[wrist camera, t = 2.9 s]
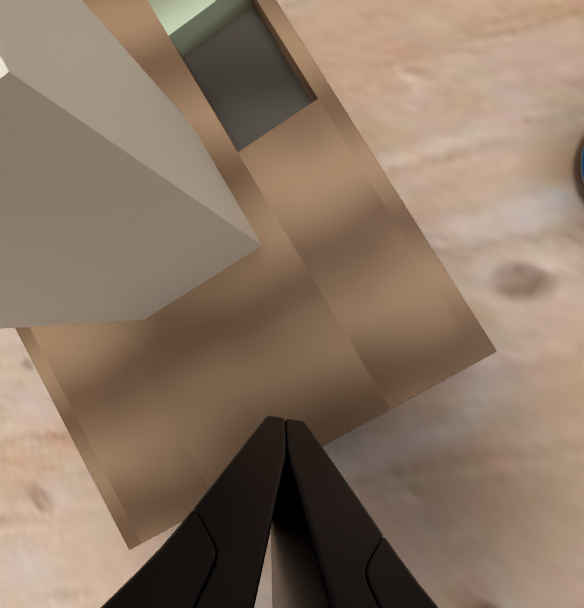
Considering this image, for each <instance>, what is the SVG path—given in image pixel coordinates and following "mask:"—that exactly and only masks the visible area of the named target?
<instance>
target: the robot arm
mask: <svg viewBox="0 0 584 608" xmlns="http://www.w3.org/2000/svg"><path fill="white" fill-rule="evenodd" d="M270 530H271V554H272V602H273V608H438V607H437V606H436V604H435V603H434V602H433V601H432V599H431V598H430V597H429V596H428V594H427V593H426V592H425V591H424V589H423V588H422V587H421V586H420V584H419V583H418V582H417V581H416V579H415V578H414V577H413V575H412V574H411V573H410V571H409V570H408V568H407V567H406V566H405V564H404V563H403V562H402V560H401V559H400V558H399V556H398V555H397V553H396V552H395V551H394V549H393V548H392V546H391V545H390V543H389V542H388V541H387V539H386V538H383V534H382V532H381V531H380V529H379V528H378V527H377V525H376V524H375V522H374V521H373V519H372V518H371V516H370V515H369V514H368V512H367V511H366V509H365V508H364V506H363V505H362V504H361V502H360V501H359V499H358V498H357V496H356V495H355V494H354V492H353V491H352V489H351V488H350V486H349V485H348V484H347V482H346V481H345V479H344V478H343V476H342V475H341V473H340V472H339V471H338V469H337V468H336V466H335V465H334V463H333V462H332V461H331V459H330V458H329V456H328V455H327V453H326V452H325V451H324V449H323V448H322V446H321V445H320V443H319V442H318V441H317V439H316V438H315V436H314V435H313V433H312V432H311V431H310V429H309V428H308V426H307V425H306V423H305V422H304V421H301V420H294V419H286V421H285V419H284V418H282V417H275V416H267V417H265V419H264V420H263V421H262V422H261V424H260V425H259V426H258V428H257V429H256V430H255V431H254V433H253V434H252V435H251V436H250V438H249V439H248V440H247V441H246V443H245V444H244V445H243V446H242V448H241V449H240V450H239V452H238V453H237V454H236V455H235V457H234V458H233V459H232V460H231V462H230V463H229V464H228V465H227V467H226V468H225V469H224V470H223V472H222V473H221V474H220V475H219V477H218V478H217V479H216V481H215V482H214V483H213V484H212V486H211V487H210V488H209V489H208V491H207V492H206V493H205V494H204V496H203V497H202V498H201V499H200V501H199V502H198V503H197V505H196V506H195V507H194V509H193V511H191V512H190V513H189V514H188V516H187V517H186V518H185V519H184V521H183V522H182V523H181V524H180V526H179V527H178V528H177V529H176V530H175V532H174V533H173V534H172V535H171V536H170V537H169V539H168V540H167V541H166V542H165V543H164V544H163V546H162V547H161V548H160V549H159V550H158V551H157V552H156V553H155V554H154V555H153V556H152V557H151V558H150V559H149V560H148V561H147V562H146V563H145V564H144V565H143V566H142V567H141V569H140V570H139V571H138V572H137V573H136V574H135V575H134V576H133V577H131V578H130V579H129V580H128V581H127V582H126V583H125V584H124V585H123V586H122V587H121V588H120V589H119V590H118V591H117V592H116V593H115V594H114V595H113V596H112V597H111V598H110V599H109V600H108V601H107V602H106V603H105V604H104V605H103V606H102V607H101V608H254V605H255V601H256V596H257V591H258V587H259V582H260V577H261V572H262V568H263V563H264V558H265V554H266V549H267V544H268V540H269V535H270Z"/></svg>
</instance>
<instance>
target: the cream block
mask: <svg viewBox="0 0 584 608" xmlns="http://www.w3.org/2000/svg"><path fill="white" fill-rule="evenodd" d="M261 246H262V244H261V242H260V240H259V239H258V237H257V235H256V234H255V232H254V230H253V228H252V227H251V225H250V223H249V222H248V220H247V218H246V217H245V215H244V213H243V211H242V210H241V208H240V206H239V205H238V203H237V201H236V199H235V198H234V196H233V194H232V193H231V191H230V189H229V188H228V186H227V184H226V182H225V181H224V179H223V177H222V176H221V174H220V172H219V170H218V169H217V167H216V165H215V164H214V162H213V160H212V159H211V157H210V155H209V153H208V152H207V150H206V148H205V147H204V145H203V143H202V141H201V140H200V138H199V136H198V135H197V133H196V131H195V130H194V128H193V126H192V124H191V123H190V122H189V121H188V120H187V119H186V118H185V117H184V115H183V114H182V113H181V112H180V111H179V110H178V109H177V107H176V106H175V105H174V104H173V103H172V102H171V101H170V99H169V98H168V97H167V96H166V95H165V94H164V93H163V92H162V90H161V89H160V88H159V87H158V86H157V85H156V84H155V82H154V81H153V80H152V79H151V78H150V77H149V76H148V75H147V73H146V72H145V71H144V70H143V69H142V68H141V67H140V65H139V64H138V63H137V62H136V61H135V60H134V59H133V57H132V56H131V55H130V54H129V53H128V52H127V51H126V50H125V48H124V47H123V46H122V45H121V44H120V43H119V42H118V40H117V39H116V38H115V37H114V36H113V35H112V34H111V33H110V31H109V30H108V29H107V28H106V27H105V26H104V25H103V23H102V22H101V21H100V20H99V19H98V18H97V17H96V15H95V14H94V13H93V12H92V11H91V10H90V9H89V8H88V6H87V5H86V4H85V3H84V2H83V1H82V0H0V328H16V327H32V326H49V325H65V324H82V323H98V322H115V321H131V320H145V319H146V318H148V317H149V316H151V315H153V314H154V313H156V312H157V311H159V310H160V309H162V308H164V307H165V306H167V305H168V304H170V303H172V302H173V301H175V300H176V299H178V298H180V297H181V296H183V295H184V294H186V293H188V292H189V291H191V290H192V289H194V288H195V287H197V286H199V285H200V284H202V283H203V282H205V281H207V280H208V279H210V278H211V277H213V276H215V275H216V274H218V273H219V272H221V271H223V270H224V269H226V268H227V267H229V266H230V265H232V264H234V263H235V262H237V261H238V260H240V259H242V258H243V257H245V256H246V255H248V254H250V253H251V252H253V251H254V250H256V249H258V248H259V247H261Z"/></svg>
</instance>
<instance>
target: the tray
mask: <svg viewBox="0 0 584 608" xmlns="http://www.w3.org/2000/svg"><path fill="white" fill-rule="evenodd" d="M82 1H83V2H84V3H85V4H86V5H87V6H88V8H89V9H90V10H91V11H92V12H93V13H94V14H95V15H96V17H97V18H98V19H99V20H100V21H101V22H102V23H103V25H104V26H105V27H106V28H107V29H108V30H109V31H110V33H111V34H112V35H113V36H114V37H115V38H116V39H117V40H118V42H119V43H120V44H121V45H122V46H123V47H124V48H125V50H126V51H127V52H128V53H129V54H130V55H131V56H132V57H133V59H134V60H135V61H136V62H137V63H138V64H139V65H140V67H141V68H142V69H143V70H144V71H145V72H146V73H147V75H148V76H149V77H150V78H151V79H152V80H153V81H154V82H155V84H156V85H157V86H158V87H159V88H160V89H161V90H162V92H163V93H164V94H165V95H166V96H167V97H168V98H169V99H170V101H171V102H172V103H173V104H174V105H175V106H176V107H177V109H178V110H179V111H180V112H181V113H182V114H183V115H184V117H185V118H186V119H187V120H188V121H189V122H190V123H191V124H192V126H193V128H194V130H195V131H196V133H197V135H198V136H199V138H200V140H201V141H202V143H203V145H204V147H205V148H206V150H207V152H208V153H209V155H210V157H211V159H212V160H213V162H214V164H215V165H216V167H217V169H218V170H219V172H220V174H221V176H222V177H223V179H224V181H225V182H226V184H227V186H228V188H229V189H230V191H231V193H232V194H233V196H234V198H235V199H236V201H237V203H238V205H239V206H240V208H241V210H242V211H243V213H244V215H245V217H246V218H247V220H248V222H249V223H250V225H251V227H252V228H253V230H254V232H255V234H256V235H257V237H258V239H259V240H260V242H261V244H262V246H261V247H259V248H258V249H256V250H254V251H253V252H251V253H250V254H248V255H246V256H245V257H243V258H242V259H240V260H238V261H237V262H235V263H234V264H232V265H230V266H229V267H227V268H226V269H224V270H223V271H221V272H219V273H218V274H216V275H215V276H213V277H211V278H210V279H208V280H207V281H205V282H203V283H202V284H200V285H199V286H197V287H195V288H194V289H192V290H191V291H189V292H188V293H186V294H184V295H183V296H181V297H180V298H178V299H176V300H175V301H173V302H172V303H170V304H168V305H167V306H165V307H164V308H162V309H160V310H159V311H157V312H156V313H154V314H153V315H151V316H149V317H148V318H146V319H145V320H131V321H115V322H98V323H82V324H65V325H49V326H32V327H16V330H17V332H18V334H19V336H20V338H21V340H22V342H23V344H24V346H25V348H26V350H27V352H28V353H29V355H30V357H31V359H32V361H33V363H34V365H35V367H36V369H37V371H38V373H39V375H40V377H41V379H42V381H43V383H44V385H45V387H46V389H47V390H48V392H49V394H50V396H51V398H52V400H53V402H54V404H55V406H56V408H57V410H58V412H59V414H60V416H61V418H62V420H63V422H64V424H65V426H66V427H67V429H68V431H69V433H70V435H71V437H72V439H73V441H74V443H75V445H76V447H77V449H78V451H79V453H80V455H81V457H82V459H83V461H84V463H85V464H86V466H87V468H88V470H89V472H90V474H91V476H92V478H93V480H94V482H95V484H96V486H97V488H98V490H99V492H100V494H101V496H102V498H103V500H104V501H105V503H106V505H107V507H108V509H109V511H110V513H111V515H112V517H113V519H114V521H115V523H116V525H117V527H118V529H119V531H120V533H121V535H122V537H123V538H124V540H125V542H126V544H127V546H128V548H129V550H130V549H132V548H134V547H136V546H138V545H140V544H141V543H143V542H145V541H147V540H149V539H151V538H152V537H154V536H156V535H158V534H160V533H162V532H164V531H165V530H167V529H169V528H171V527H173V526H175V525H177V524H178V523H180V522H182V521H184V519H185V518H186V517H187V516H188V514H189V513H190V512H191V511H193V509H194V507H195V506H196V505H197V503H198V502H199V501H200V499H201V498H202V497H203V496H204V494H205V493H206V492H207V491H208V489H209V488H210V487H211V486H212V484H213V483H214V482H215V481H216V479H217V478H218V477H219V475H220V474H221V473H222V472H223V470H224V469H225V468H226V467H227V465H228V464H229V463H230V462H231V460H232V459H233V458H234V457H235V455H236V454H237V453H238V452H239V450H240V449H241V448H242V446H243V445H244V444H245V443H246V441H247V440H248V439H249V438H250V436H251V435H252V434H253V433H254V431H255V430H256V429H257V428H258V426H259V425H260V424H261V422H262V421H263V420H264V419H265V417H267V416H275V417H282V418H284V419H285V421H286V419H294V420H301V421H304V422H305V423H306V425H307V426H308V428H309V429H310V431H311V432H312V433H313V435H314V436H315V438H316V439H317V441H318V442H319V443H320V445H321V446H323V445H325V444H327V443H328V442H330V441H332V440H334V439H336V438H338V437H339V436H341V435H343V434H345V433H347V432H349V431H351V430H352V429H354V428H356V427H358V426H360V425H362V424H364V423H365V422H367V421H369V420H371V419H373V418H375V417H377V416H378V415H380V414H382V413H384V412H386V411H388V410H389V409H391V408H393V407H395V406H397V405H399V404H401V403H402V402H404V401H406V400H408V399H410V398H412V397H414V396H415V395H417V394H419V393H421V392H423V391H425V390H427V389H428V388H430V387H432V386H434V385H436V384H438V383H439V382H441V381H443V380H445V379H447V378H449V377H451V376H452V375H454V374H456V373H458V372H460V371H462V370H464V369H465V368H467V367H469V366H471V365H473V364H475V363H477V362H478V361H480V360H482V359H484V358H486V357H488V356H489V355H491V354H493V353H495V352H497V351H496V349H495V348H494V346H493V345H492V343H491V341H490V340H489V338H488V337H487V335H486V334H485V332H484V330H483V329H482V327H481V326H480V324H479V322H478V321H477V319H476V318H475V316H474V314H473V313H472V311H471V310H470V308H469V306H468V305H467V303H466V302H465V300H464V299H463V297H462V295H461V294H460V292H459V291H458V289H457V287H456V286H455V284H454V283H453V281H452V279H451V278H450V276H449V275H448V273H447V271H446V270H445V268H444V267H443V265H442V264H441V262H440V260H439V259H438V257H437V256H436V254H435V252H434V251H433V249H432V248H431V246H430V244H429V243H428V241H427V240H426V238H425V236H424V235H423V233H422V232H421V230H420V229H419V227H418V225H417V224H416V222H415V221H414V219H413V217H412V216H411V214H410V213H409V211H408V209H407V208H406V206H405V205H404V203H403V201H402V200H401V198H400V197H399V195H398V194H397V192H396V190H395V189H394V187H393V186H392V184H391V182H390V181H389V179H388V178H387V176H386V174H385V173H384V171H383V170H382V168H381V166H380V165H379V163H378V162H377V160H376V159H375V157H374V155H373V154H372V152H371V151H370V149H369V147H368V146H367V144H366V143H365V141H364V139H363V138H362V136H361V135H360V133H359V131H358V130H357V128H356V127H355V125H354V124H353V122H352V120H351V119H350V117H349V116H348V114H347V112H346V111H345V109H344V108H343V106H342V104H341V103H340V101H339V100H338V98H337V96H336V95H335V93H334V92H333V90H332V89H331V87H330V85H329V84H328V82H327V81H326V79H325V77H324V76H323V74H322V73H321V71H320V69H319V68H318V66H317V65H316V63H315V61H314V60H313V58H312V57H311V55H310V53H309V52H308V50H307V49H306V47H305V46H304V44H303V42H302V41H301V39H300V38H299V36H298V34H297V33H296V31H295V30H294V28H293V26H292V25H291V23H290V22H289V20H288V18H287V17H286V15H285V14H284V12H283V11H282V9H281V7H280V6H279V4H278V3H277V1H276V0H82Z"/></svg>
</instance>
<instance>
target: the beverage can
mask: <svg viewBox="0 0 584 608" xmlns="http://www.w3.org/2000/svg"><path fill="white" fill-rule="evenodd" d="M581 172H582V178H583V182H584V146H583V151H582V156H581Z"/></svg>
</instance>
